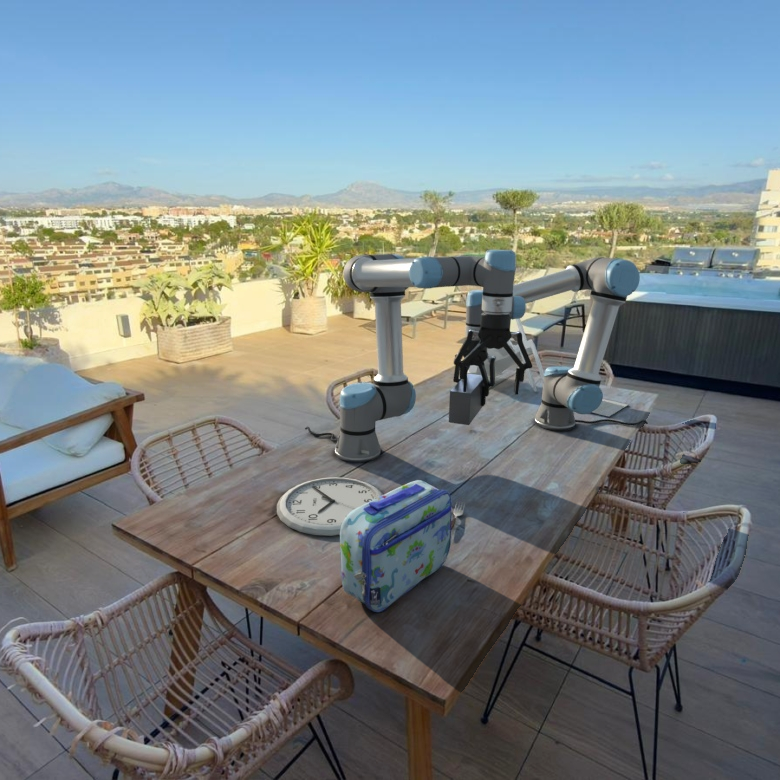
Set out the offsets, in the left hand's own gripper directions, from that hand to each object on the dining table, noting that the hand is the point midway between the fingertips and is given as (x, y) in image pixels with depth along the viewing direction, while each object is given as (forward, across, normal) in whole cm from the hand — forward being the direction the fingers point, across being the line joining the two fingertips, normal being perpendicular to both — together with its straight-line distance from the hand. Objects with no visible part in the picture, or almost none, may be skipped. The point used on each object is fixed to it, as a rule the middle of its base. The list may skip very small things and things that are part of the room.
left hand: (490, 391), depth 140 cm
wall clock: (+31, -41, -11) cm, 53 cm away
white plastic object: (+31, +14, +113) cm, 118 cm away
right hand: (+16, -2, +38) cm, 41 cm away
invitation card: (+31, +55, +88) cm, 108 cm away
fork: (+31, -8, -15) cm, 36 cm away
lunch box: (+31, -20, -41) cm, 55 cm away
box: (+17, -4, +30) cm, 35 cm away
